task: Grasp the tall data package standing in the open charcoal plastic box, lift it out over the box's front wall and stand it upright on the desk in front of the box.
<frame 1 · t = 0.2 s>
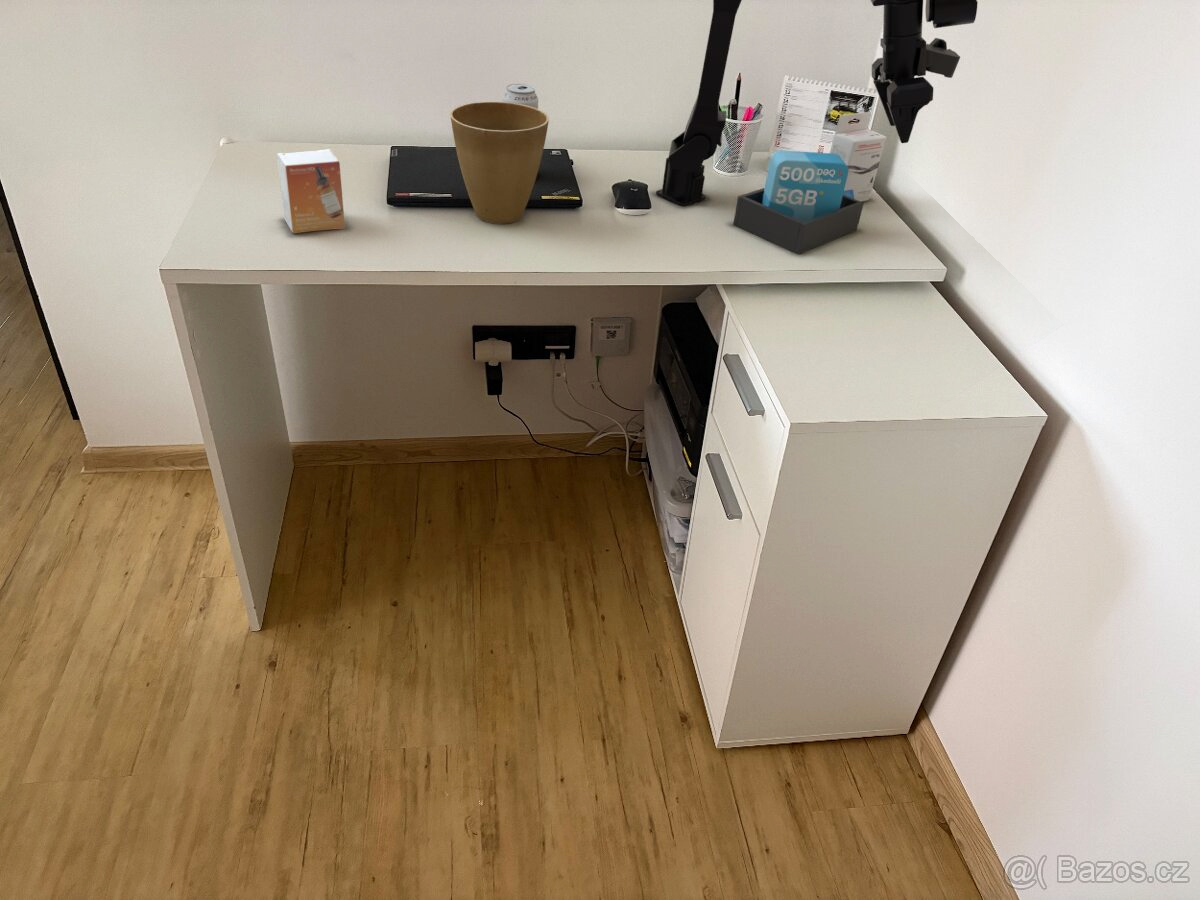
hand: (899, 133, 150), 15 cm above the table, tool pointing down, fingers open, 9 cm apart
data package: (795, 227, 154), resting on black box
black box: (795, 227, 154), on the table
ink box: (844, 199, 167), on the table
energy drink can: (518, 175, 163), on the table
plant pot: (498, 215, 149), on the table
small box: (315, 225, 140), on the table
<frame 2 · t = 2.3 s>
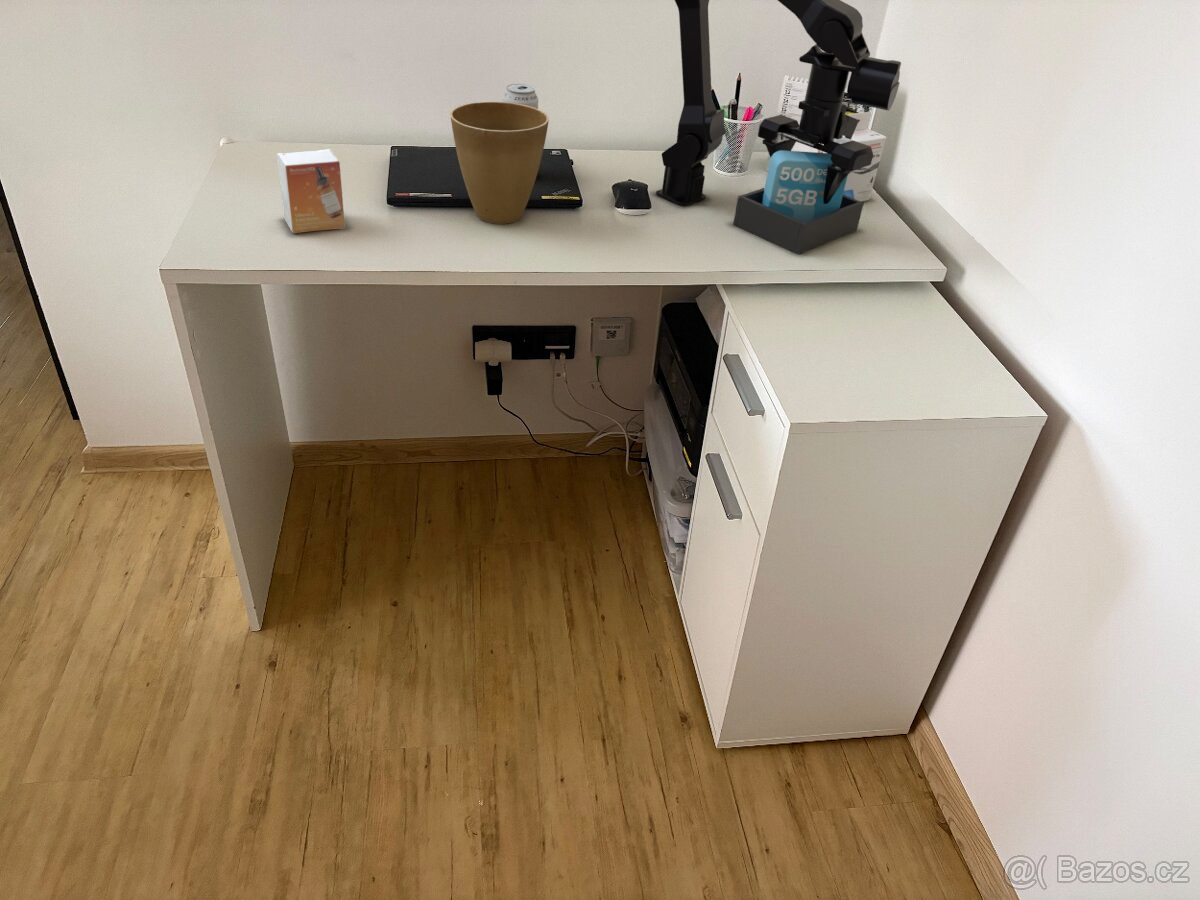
hand: (802, 193, 151), 6 cm above the table, tool pointing down
data package: (795, 227, 154), resting on black box, touching gripper
everything else where it was.
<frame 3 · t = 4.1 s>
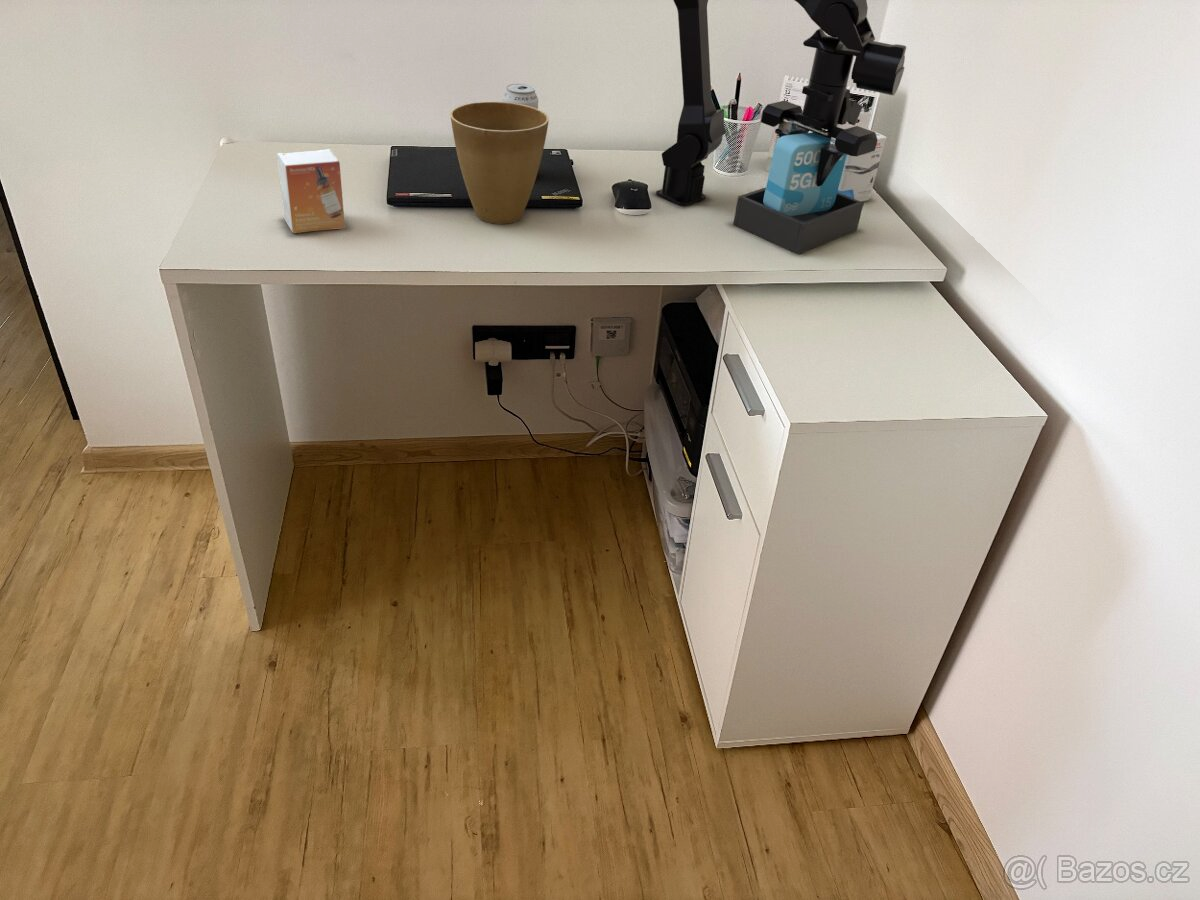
hand: (806, 180, 149), 8 cm above the table, tool pointing down, fingers closed on data package, 5 cm apart
data package: (797, 210, 152), point 3 cm above the table, touching gripper
everything else where it was.
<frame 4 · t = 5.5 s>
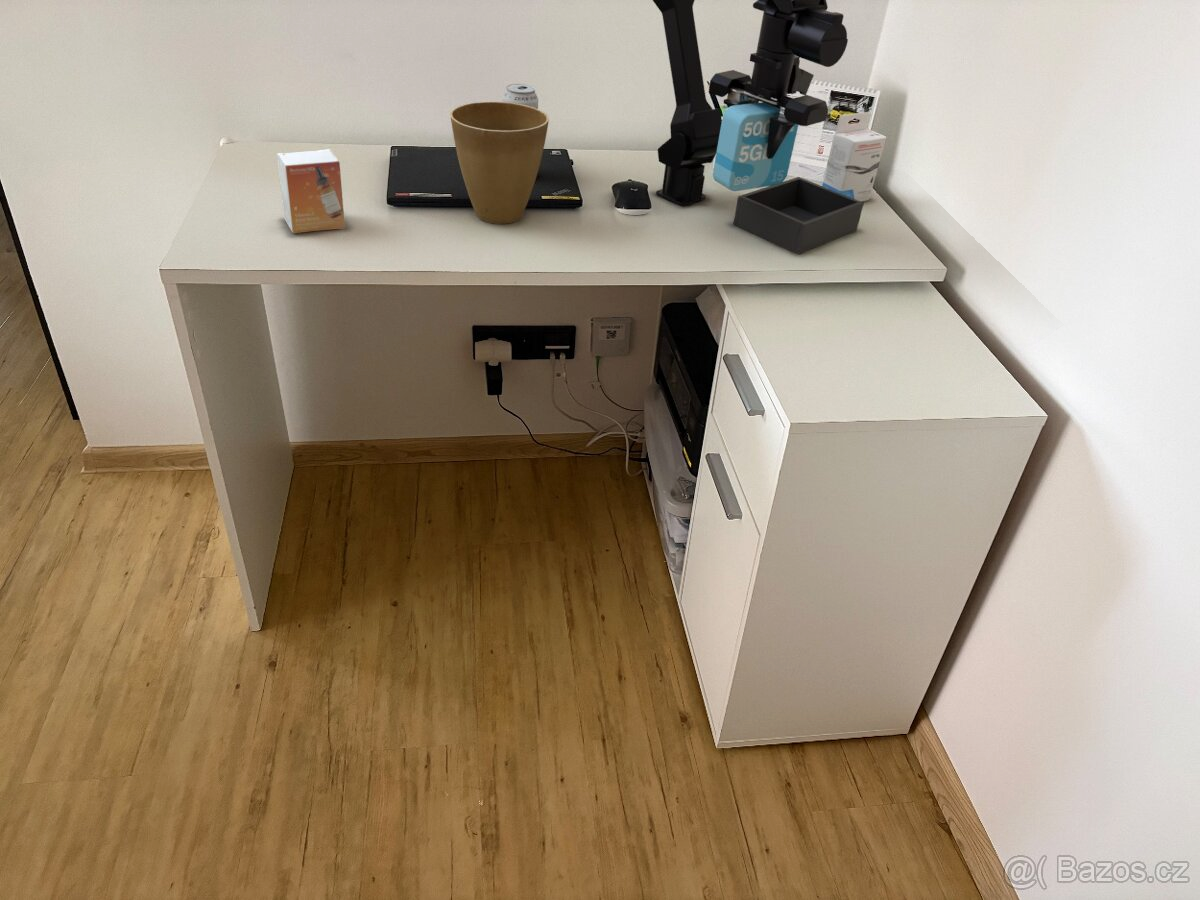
hand: (756, 153, 144), 13 cm above the table, tool pointing down, fingers closed on data package, 5 cm apart
data package: (748, 184, 147), point 8 cm above the table, touching gripper
everything else where it was.
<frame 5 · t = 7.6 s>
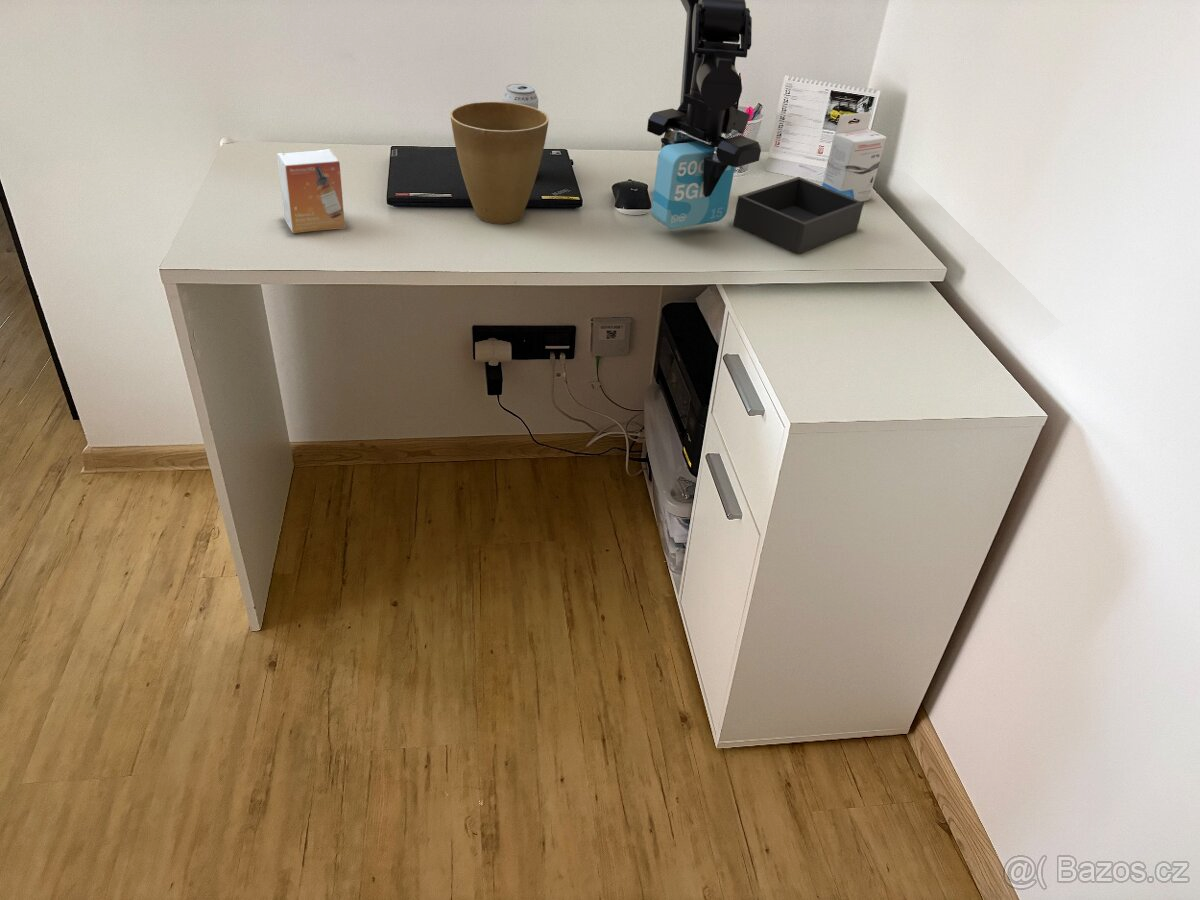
hand: (694, 190, 145), 7 cm above the table, tool pointing down, fingers closed on data package, 5 cm apart
data package: (687, 221, 148), point 2 cm above the table, touching gripper
everything else where it was.
when the fingers open (5 cm above the table, at t = 8.8 s): data package stays where it is, on the table.
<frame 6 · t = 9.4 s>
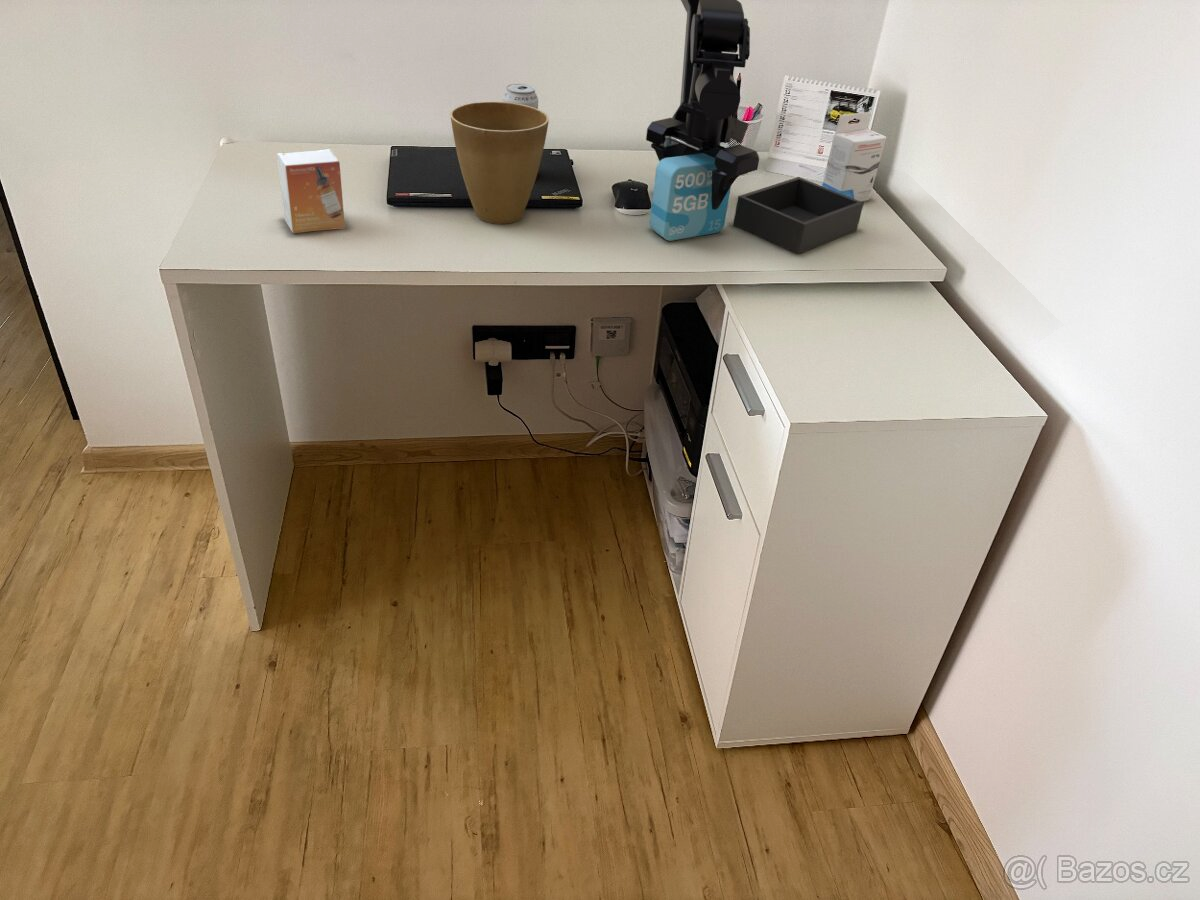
hand: (693, 199, 146), 6 cm above the table, tool pointing down, fingers open, 9 cm apart
data package: (685, 233, 149), on the table
everything else where it was.
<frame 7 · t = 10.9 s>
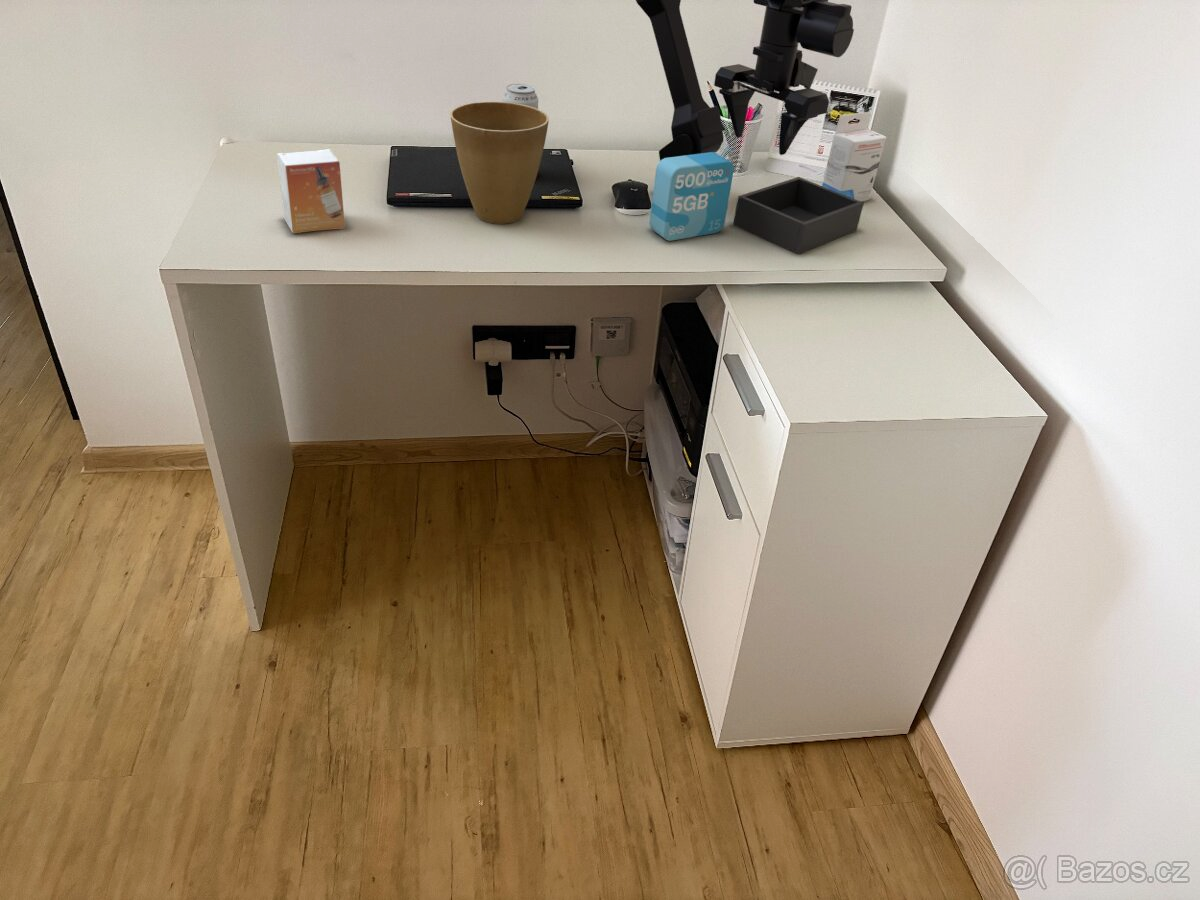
hand: (760, 145, 147), 13 cm above the table, tool pointing down, fingers open, 9 cm apart
nothing on the table moved.
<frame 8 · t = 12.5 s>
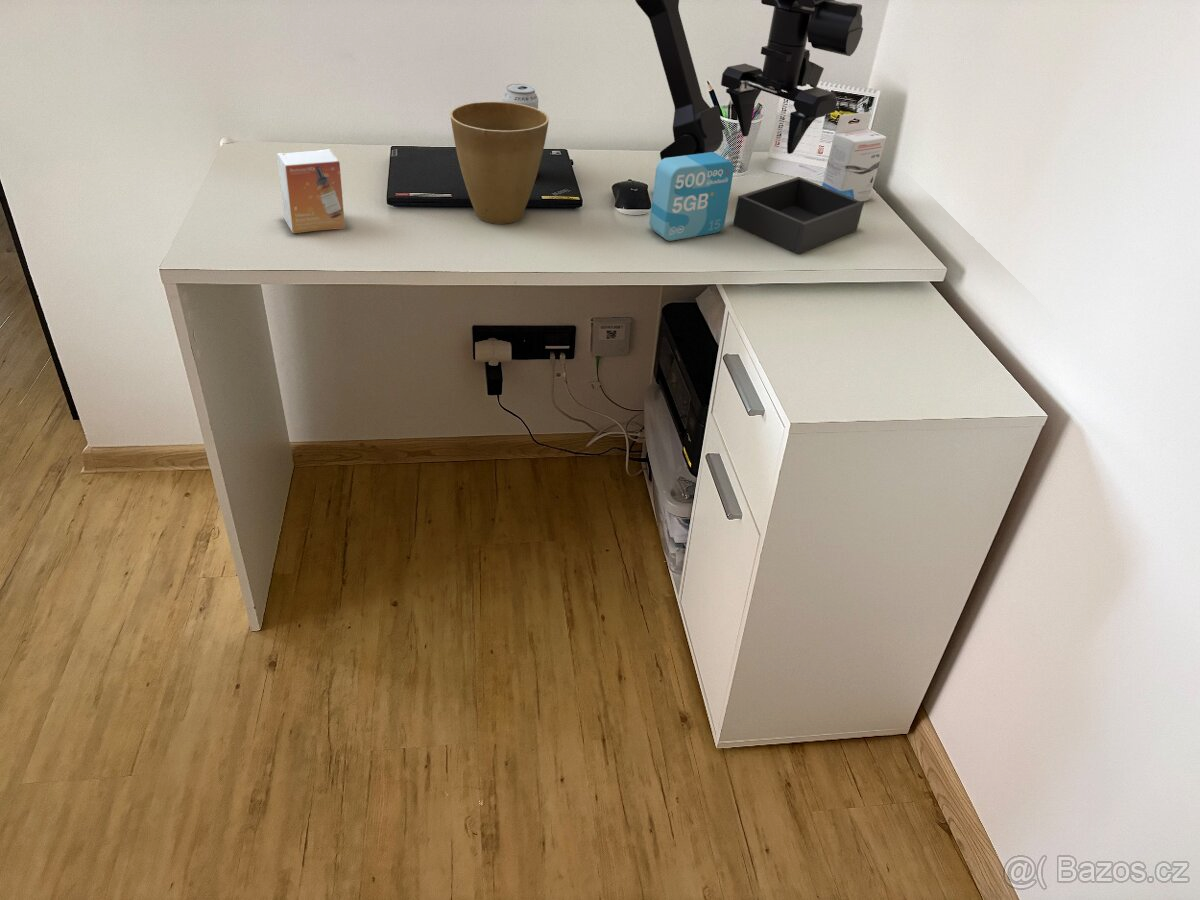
hand: (767, 144, 147), 13 cm above the table, tool pointing down, fingers open, 9 cm apart
nothing on the table moved.
at the end: data package inside the target area (0.4 cm from its centre), on the table; data package tilted 0°; the gripper is holding nothing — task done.
